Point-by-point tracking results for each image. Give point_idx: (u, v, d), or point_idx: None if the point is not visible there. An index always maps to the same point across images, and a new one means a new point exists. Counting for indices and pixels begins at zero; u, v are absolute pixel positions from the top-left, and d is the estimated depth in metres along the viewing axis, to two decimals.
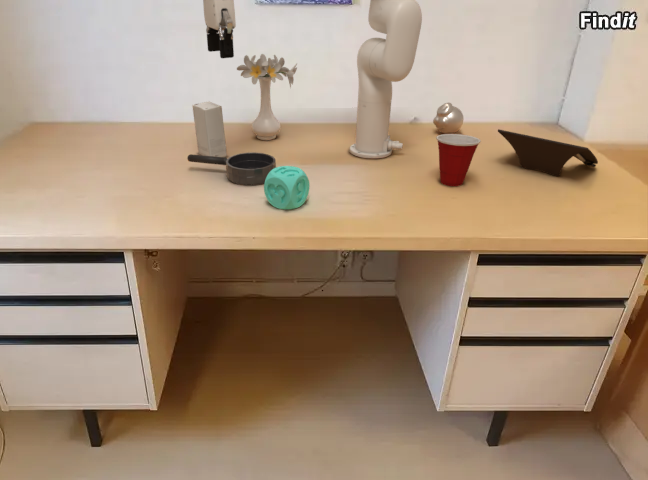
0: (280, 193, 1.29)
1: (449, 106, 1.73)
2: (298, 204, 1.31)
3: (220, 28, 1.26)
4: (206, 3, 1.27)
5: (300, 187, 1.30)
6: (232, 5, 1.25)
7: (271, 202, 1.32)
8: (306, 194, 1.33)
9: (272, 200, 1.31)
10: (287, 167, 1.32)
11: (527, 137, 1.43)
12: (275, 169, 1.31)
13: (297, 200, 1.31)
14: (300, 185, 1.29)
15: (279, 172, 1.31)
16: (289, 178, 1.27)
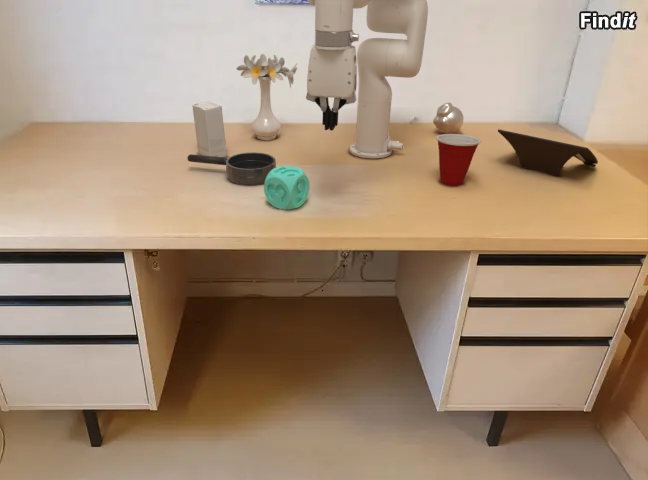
0: (280, 192, 1.29)
1: (449, 106, 1.73)
2: (298, 204, 1.31)
3: (339, 101, 1.17)
4: (327, 72, 1.14)
5: (300, 187, 1.30)
6: None
7: (271, 202, 1.32)
8: (306, 194, 1.33)
9: (272, 200, 1.31)
10: (287, 167, 1.32)
11: (527, 137, 1.43)
12: (275, 169, 1.31)
13: (297, 200, 1.31)
14: (300, 185, 1.29)
15: (279, 172, 1.31)
16: (289, 178, 1.27)
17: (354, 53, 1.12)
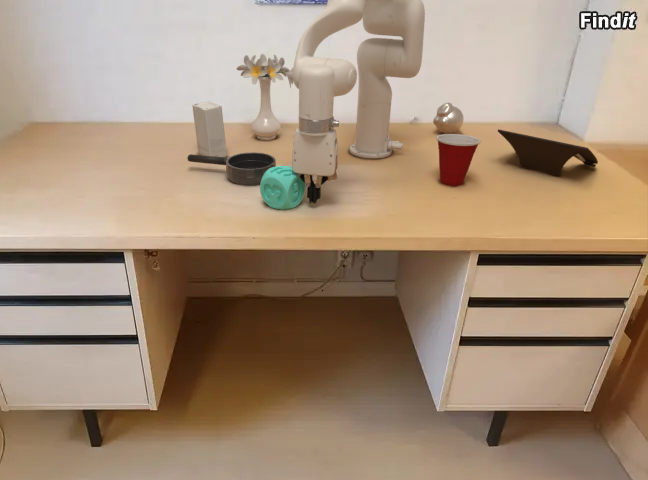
0: (276, 193, 1.29)
1: (449, 106, 1.73)
2: (294, 204, 1.31)
3: (321, 178, 1.27)
4: (310, 153, 1.23)
5: (296, 187, 1.30)
6: None
7: (267, 202, 1.32)
8: (302, 194, 1.33)
9: (268, 200, 1.31)
10: (283, 167, 1.33)
11: (527, 137, 1.43)
12: (271, 169, 1.31)
13: (293, 200, 1.31)
14: (296, 185, 1.29)
15: (275, 172, 1.31)
16: (285, 178, 1.27)
17: (335, 137, 1.22)
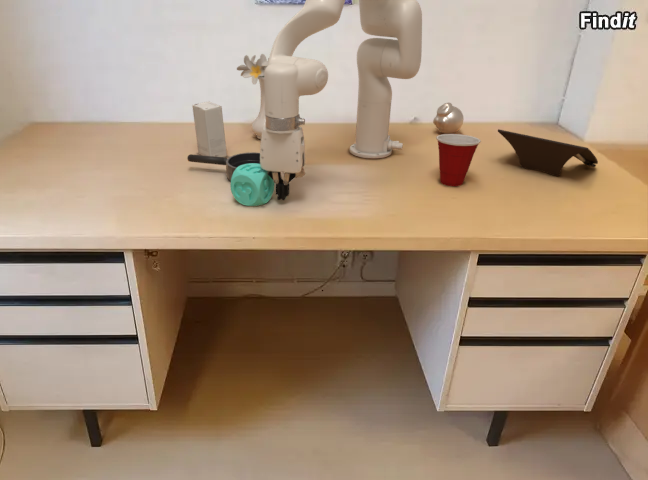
0: (247, 190, 1.30)
1: (449, 106, 1.73)
2: (265, 200, 1.33)
3: (289, 175, 1.29)
4: (277, 151, 1.25)
5: (266, 183, 1.32)
6: (304, 147, 1.28)
7: (238, 200, 1.33)
8: (272, 190, 1.35)
9: (239, 198, 1.33)
10: (251, 164, 1.34)
11: (527, 137, 1.43)
12: (240, 167, 1.33)
13: (264, 196, 1.33)
14: (266, 181, 1.32)
15: (244, 170, 1.33)
16: (256, 175, 1.29)
17: (301, 135, 1.24)
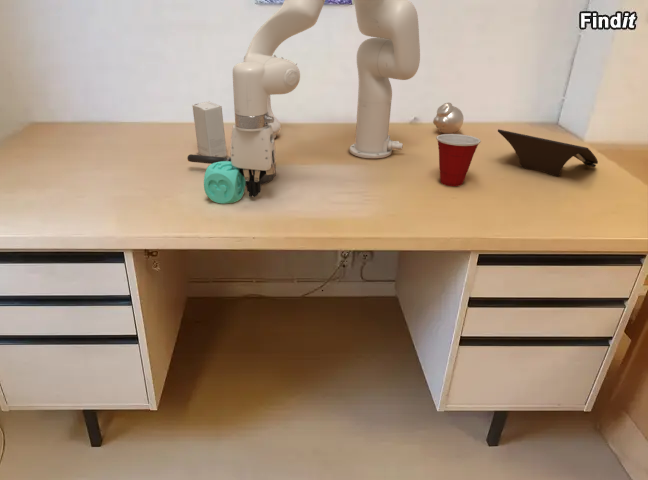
0: (222, 187, 1.32)
1: (449, 106, 1.73)
2: (239, 196, 1.35)
3: (259, 172, 1.31)
4: (247, 148, 1.27)
5: (240, 180, 1.34)
6: (274, 145, 1.30)
7: (213, 198, 1.34)
8: (244, 186, 1.37)
9: (214, 196, 1.34)
10: (221, 162, 1.36)
11: (527, 137, 1.43)
12: (211, 166, 1.34)
13: (238, 193, 1.35)
14: (240, 178, 1.34)
15: (216, 168, 1.34)
16: (230, 172, 1.30)
17: (270, 132, 1.26)
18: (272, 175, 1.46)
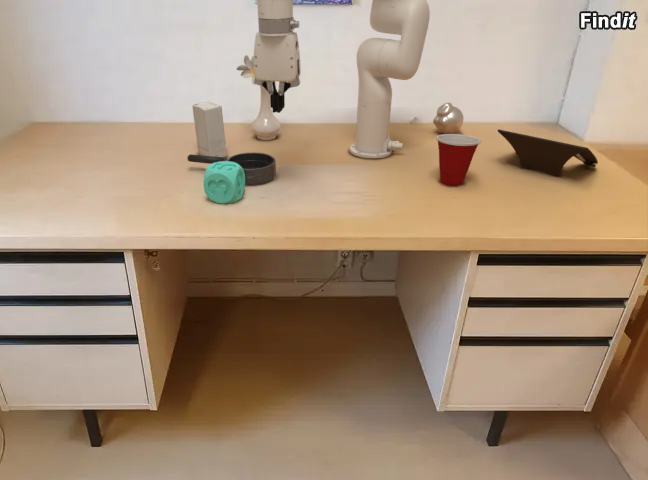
0: (222, 187, 1.32)
1: (449, 106, 1.73)
2: (239, 196, 1.35)
3: (284, 84, 1.25)
4: (271, 57, 1.21)
5: (239, 179, 1.34)
6: (299, 55, 1.24)
7: (213, 198, 1.34)
8: (243, 186, 1.37)
9: (214, 196, 1.34)
10: (221, 162, 1.36)
11: (527, 137, 1.43)
12: (211, 166, 1.34)
13: (237, 193, 1.35)
14: (239, 178, 1.34)
15: (216, 168, 1.34)
16: (230, 172, 1.31)
17: (295, 39, 1.20)
18: (272, 175, 1.46)
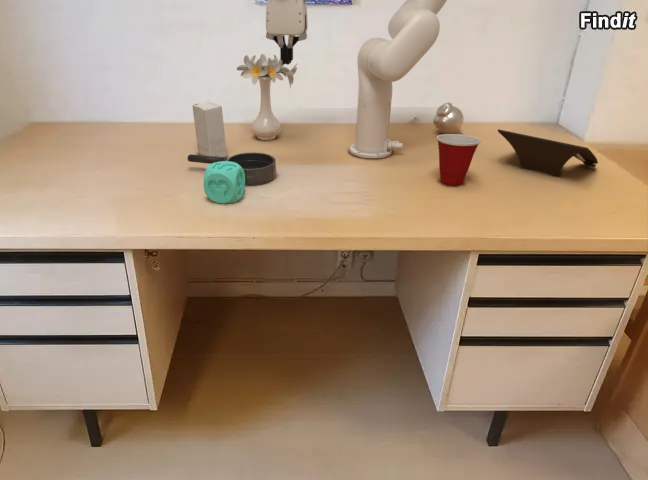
0: (222, 187, 1.32)
1: (449, 106, 1.73)
2: (239, 196, 1.35)
3: (293, 38, 1.40)
4: (281, 12, 1.36)
5: (239, 179, 1.34)
6: None
7: (213, 198, 1.34)
8: (243, 186, 1.37)
9: (214, 196, 1.34)
10: (221, 162, 1.36)
11: (527, 137, 1.43)
12: (211, 166, 1.34)
13: (237, 193, 1.35)
14: (239, 178, 1.34)
15: (216, 168, 1.34)
16: (230, 172, 1.31)
17: None
18: (272, 175, 1.46)
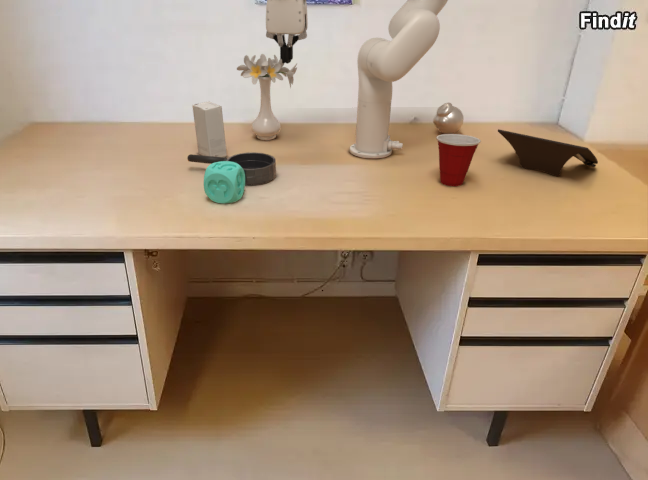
0: (222, 187, 1.32)
1: (449, 106, 1.73)
2: (239, 196, 1.35)
3: (292, 37, 1.40)
4: (281, 11, 1.37)
5: (239, 180, 1.34)
6: None
7: (213, 198, 1.34)
8: (243, 186, 1.37)
9: (214, 196, 1.34)
10: (221, 162, 1.36)
11: (527, 137, 1.43)
12: (211, 166, 1.34)
13: (237, 193, 1.35)
14: (239, 178, 1.34)
15: (216, 168, 1.34)
16: (230, 172, 1.31)
17: None
18: (272, 175, 1.46)
